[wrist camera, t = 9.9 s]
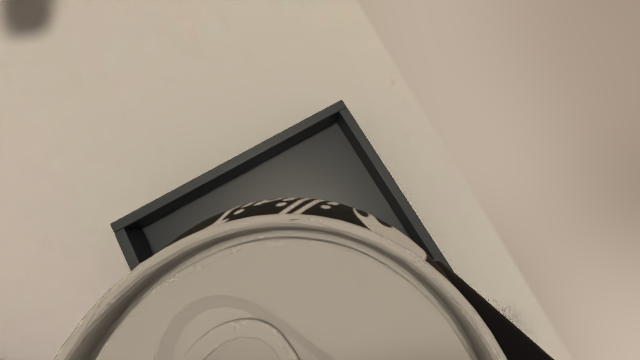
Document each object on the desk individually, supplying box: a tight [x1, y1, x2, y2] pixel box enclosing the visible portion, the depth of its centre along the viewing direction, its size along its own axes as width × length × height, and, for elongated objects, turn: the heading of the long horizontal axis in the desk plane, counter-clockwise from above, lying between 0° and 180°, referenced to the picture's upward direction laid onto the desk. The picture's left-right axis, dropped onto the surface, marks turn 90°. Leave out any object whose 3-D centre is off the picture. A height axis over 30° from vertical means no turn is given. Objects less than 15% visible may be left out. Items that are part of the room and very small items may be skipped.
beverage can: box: [54, 198, 507, 360], centre depth 9 cm, size 7×7×12 cm
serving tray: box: [111, 100, 453, 271], centre depth 14 cm, size 15×13×2 cm
